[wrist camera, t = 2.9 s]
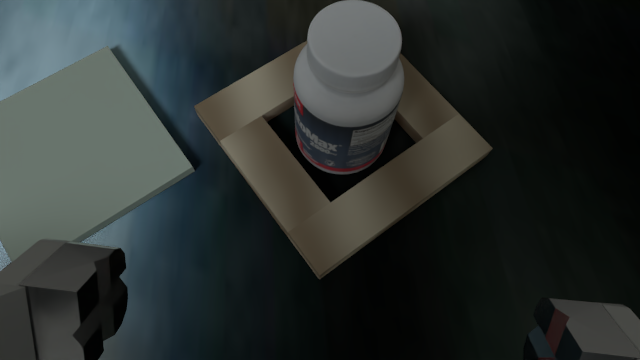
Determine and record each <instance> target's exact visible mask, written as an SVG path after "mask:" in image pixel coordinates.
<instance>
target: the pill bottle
mask: <svg viewBox="0 0 640 360" xmlns="http://www.w3.org/2000/svg"><path fill="white" fill-rule="evenodd" d="M401 46H402V35H401V30H400V28H399V26H398V24H397V22H396V21H395V19H394V18H393V17H392V16H391V15H390V14H389V13H388V12H387V11H386V10H384V9H383V8H381V7H379V6H377V5H375V4H373V3H370V2H365V1H361V0H346V1H340V2H336V3H334V4H332V5H329V6H327V7H325V8H324V9H323V10H321V11H320V12H319V13H318V14H317V15H316V16H315V18H314V19H313V20H312V22H311V24H310V27H309V30H308V38H307V44H306V45H305V47H304V48H303V49H302V51H301V52H300V54H299V56H298V58H297V60H296V63H295V67H294V75H293V88H294V108H295V133H296V140H297V144H298V146H299V149H300V151H301V152H302V154H303V155H304V157H305V158H306V159H307V160H308V161H309V162H310V163H311V164H313V165H314V166H315V167H317V168H319V169H321V170H323V171H325V172H329V173H333V174H352V173H356V172H359V171H361V170H363V169H365V168H367V167H369V166H370V165H371V164H373V163H374V162H375V161H376V160H377V159H378V157H379V156H380V154H381V153H382V151H383V149H384V146H385V144H386V141H387V138H388V135H389V132H390V129H391V127H392V124H393V121H394V118H395V115H396V112H397V109H398V106H399V102H400V99H401V96H402V94H403V87H404V71H403V66H402V63H401V61H400V59H399V56H400V51H401Z"/></svg>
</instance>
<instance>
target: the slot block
mask: <svg viewBox="0 0 640 360" xmlns="http://www.w3.org/2000/svg"><path fill="white" fill-rule="evenodd" d="M306 44H307V41H306V42H304V43H302V44H300V45H299V46H297V47H295V48H294V49H292V50H290V51H288V52H287V53H285V54H283V55H281V56H280V57H278V58H276V59H275V60H273V61H271V62H269V63H268V64H266V65H264V66H263V67H261V68H259V69H257V70H256V71H254V72H252V73H250V74H249V75H247V76H245V77H244V78H242V79H240V80H238V81H237V82H235V83H233V84H232V85H230V86H228V87H226V88H225V89H223V90H221V91H219V92H218V93H216V94H214V95H213V96H211V97H209V98H207V99H206V100H204V101H202V102H201V103H199V104H197V105H195V106H194V107H195V110H196V112H197V115H198V116H199V118H200V119H201V120H202V122H203V123H204V124H205V126H206V127H207V128H208V130H209V131H210V132H211V134H212V135H213V136H214V138H215V139H216V141H217V142H218V143H219V145H220V146H221V147H222V149H223V150H224V151H225V153H226V154H227V155H228V157H229V158H230V159H231V161H232V162H233V164H234V165H235V166H236V168H237V169H238V170H239V172H240V173H241V174H242V176H243V177H244V178H245V180H246V181H247V182H248V184H249V185H250V186H251V188H252V189H253V191H254V192H255V193H256V195H257V196H258V197H259V199H260V200H261V201H262V203H263V204H264V205H265V207H266V208H267V209H268V211H269V212H270V214H271V215H272V216H273V218H274V219H275V220H276V222H277V223H278V224H279V226H280V227H281V228H282V230H283V231H284V232H285V234H286V235H287V237H288V238H289V239H290V241H291V242H292V243H293V245H294V246H295V247H296V249H297V250H298V251H299V253H300V254H301V255H302V257H303V258H304V259H305V261H306V262H307V264H308V265H309V266H310V268H311V269H312V270H313V272H314V273H315V274H316V276H317V277H318V278H319V279H321V278H322V277H323V276H325V275H326V274H327V273H329V272H330V271H332V270H333V269H334V268H336V267H337V266H338V265H340V264H341V263H342V262H344V261H345V260H346V259H348V258H349V257H351V256H352V255H353V254H355V253H356V252H357V251H359V250H360V249H361V248H363V247H364V246H365V245H367V244H368V243H370V242H371V241H372V240H374V239H375V238H376V237H378V236H379V235H380V234H382V233H383V232H384V231H386V230H387V229H389V228H390V227H391V226H393V225H394V224H395V223H397V222H398V221H399V220H401V219H402V218H403V217H405V216H406V215H408V214H409V213H410V212H412V211H413V210H414V209H416V208H417V207H418V206H420V205H421V204H422V203H424V202H425V201H427V200H428V199H429V198H431V197H432V196H433V195H435V194H436V193H437V192H439V191H440V190H441V189H443V188H444V187H446V186H447V185H448V184H450V183H451V182H452V181H454V180H455V179H456V178H458V177H459V176H460V175H462V174H463V173H465V172H466V171H467V170H469V169H470V168H471V167H473V166H474V165H475V164H477V163H478V162H479V161H481V160H482V159H484V158H485V157H486V156H487V155H488V154H489V153H490V151H491V150H492V149H493V148H492V147H491V146H490V145H489V144H488V143H487V142H486V141H485V140H484V139H483V138H482V137H481V136H480V135H479V134H478V133H477V132H476V131H475V130H474V128H473V127H472V126H471V125H470V124H469V123H468V122H467V121H466V120H465V119H464V118H463V117H462V116H461V115H460V114H459V113H458V112H457V111H456V110H455V109H454V108H453V107H452V106H451V105H450V104H449V103H448V102H447V101H446V100H445V99H444V97H443V96H442V95H441V94H440V93H439V92H438V91H437V90H436V89H435V88H434V87H433V86H432V85H431V84H430V83H429V82H428V81H427V80H426V79H425V78H424V77H423V76H422V75H421V74H420V73H419V72H418V71H417V70H416V69H415V68H414V67H413V65H412V64H411V63H410V62H409V61H408V60H407V59H406V58H405V57H404V56H403V55H402V54H401V53H400V56H399V59H400V61H401V63H402V66H403V71H404V87H403V94H402V96H401V99H400V102H399V106H398V109H397V112H396V115H395V118H394V119H395V120H396V121H397V122H398V124H399V125H400V126H401V127H402V128H403V129H404V130H405V131H406V132H407V134H408V135H409V136H410V137H411V138H412V139H413V140H414V141H415V142H416V144H414V145H413V146H412V147H410V148H409V149H407V150H406V151H404V152H403V153H401V154H400V155H399V156H397V157H396V158H394V159H393V160H391V161H390V162H388V163H387V164H386V165H384V166H383V167H381V168H380V169H378V170H377V171H376V172H374V173H373V174H371V175H370V176H368V177H367V178H365V179H364V180H363V181H361V182H360V183H358V184H357V185H355V186H354V187H352V188H351V189H350V190H348V191H347V192H345V193H344V194H342V195H341V196H339V197H338V198H337V199H335V200H334V201H332V202H331V203H330V201H329V200H328V199H327V198H326V196H325V195H324V194H323V193H322V191H321V190H320V189H319V187H318V186H317V185H316V184H315V182H314V181H313V180H312V179H311V177H310V176H309V175H308V174H307V172H306V171H305V170H304V169H303V167H302V166H301V165H300V164H299V162H298V161H297V160H296V159H295V157H294V156H293V155H292V154H291V152H290V151H289V150H288V148H287V147H286V146H285V145H284V143H283V142H282V141H281V140H280V138H279V137H278V136H277V135H276V133H275V132H274V131H273V130H272V128H271V127H270V126H269V125H268V123H267V122H268V121H269V120H271V119H273V118H274V117H276V116H277V115H279V114H281V113H282V112H284V111H286V110H287V109H289V108H290V107H292V106H294V88H293V75H294V67H295V63H296V60H297V58H298V56H299V54H300V52H301V51H302V49H303V48H304V47H305V45H306Z"/></svg>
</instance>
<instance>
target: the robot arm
mask: <svg viewBox="0 0 640 360" xmlns="http://www.w3.org/2000/svg"><path fill="white" fill-rule="evenodd" d="M125 269H126V263H125V253H124V252H123V251H122V249H121V248H116V247H109V246H101V245H94V244H87V243H79V242H70V241H66V240H56V239H40V240H39V241H37V242H36V243H35V244H34V245H33V246H31V247H30V248H29V249H28V250H26V251H25V252H24V253H23V254H21V255H20V256H19V257H18V258H16V259H15V260H14V261H13V262H12V263H10V264H9V265H8V266H7V267H5V268H4V269H3V270H2V271H0V360H98V359H99V357H100V356H101V354H102V353H103V351H104V348H103V341H104V340H106V339H108V338H110V337H112V336H113V335H115V334H116V332H117V330H118V329H119V327H120V326H121V324H122V321H123V318H124V315H125V313H126V309H127V300H128V293H127V286H126V285H125V284H124V283H123V281H122V280H121V279H120V277H119V276H120V275H121V274H122V272H123V271H124V270H125ZM534 317H535V320H536V322H537V324H538V326H537V327H536V328H535V329H534V330H532V331H531V332H530V333H528V334H527V338H526V342H525V345H524V357H523V360H640V320H639V319H638V317H637V316H636V315H635V314H634V313H633V312H632V310H631V309H630V308H628V307H626V306H624V305H622V304H610V303H597V302H584V301H573V300H562V299H551V298H541V300H540V301H539V302H538V304H537V306H536V309H535V312H534Z"/></svg>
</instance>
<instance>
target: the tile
mask: <svg viewBox="0 0 640 360" xmlns="http://www.w3.org/2000/svg"><path fill="white" fill-rule="evenodd" d="M193 172H194V169H193V167H192V165H191V164H190V162H189V161H188V160H187V158H186V157H185V155H184V154H183V152H182V151H181V150H180V148H179V147H178V145H177V144H176V143H175V141H174V140H173V138H172V137H171V135H170V134H169V133H168V131H167V130H166V128H165V127H164V125H163V124H162V123H161V121H160V120H159V118H158V117H157V116H156V114H155V113H154V111H153V110H152V108H151V107H150V106H149V104H148V103H147V101H146V100H145V98H144V97H143V96H142V94H141V93H140V91H139V90H138V89H137V87H136V86H135V84H134V83H133V81H132V80H131V79H130V77H129V76H128V74H127V73H126V71H125V70H124V69H123V67H122V66H121V64H120V63H119V62H118V60H117V59H116V57H115V56H114V54H113V53H112V52H111V50H110V49H109V47H108V46H106V47H105V48H103V49H101V50H99V51H97V52H95V53H93V54H91V55H89V56H87V57H85V58H83V59H81V60H79V61H78V62H76V63H74V64H72V65H70V66H68V67H66V68H64V69H62V70H60V71H58V72H56V73H54V74H52V75H51V76H49V77H47V78H45V79H43V80H41V81H39V82H37V83H35V84H33V85H31V86H29V87H27V88H25V89H24V90H22V91H20V92H18V93H16V94H14V95H12V96H10V97H8V98H6V99H4V100H2V101H0V240H1V242H2V244H3V246H4V248H5V250H6V252H7V254H8V256H9V258H10V259H11V261H12V262H13V261H14V260H15V259H16V258H18V257H19V256H20V255H21V254H23V253H24V252H25V251H26V250H28V249H29V248H30V247H31V246H33V245H34V244H35V243H36V242H37V241H39V240H40V239H56V240H66V241H70V242H81V241H83V240H84V239H86V238H88V237H89V236H91V235H92V234H94V233H96V232H97V231H99V230H100V229H102V228H104V227H105V226H107V225H109V224H110V223H112V222H113V221H115V220H117V219H118V218H120V217H121V216H123V215H125V214H126V213H128V212H130V211H131V210H133V209H134V208H136V207H138V206H139V205H141V204H142V203H144V202H146V201H147V200H149V199H151V198H152V197H154V196H155V195H157V194H159V193H160V192H162V191H163V190H165V189H167V188H168V187H170V186H172V185H173V184H175V183H176V182H178V181H180V180H181V179H183V178H184V177H186V176H188V175H189V174H191V173H193Z"/></svg>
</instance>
